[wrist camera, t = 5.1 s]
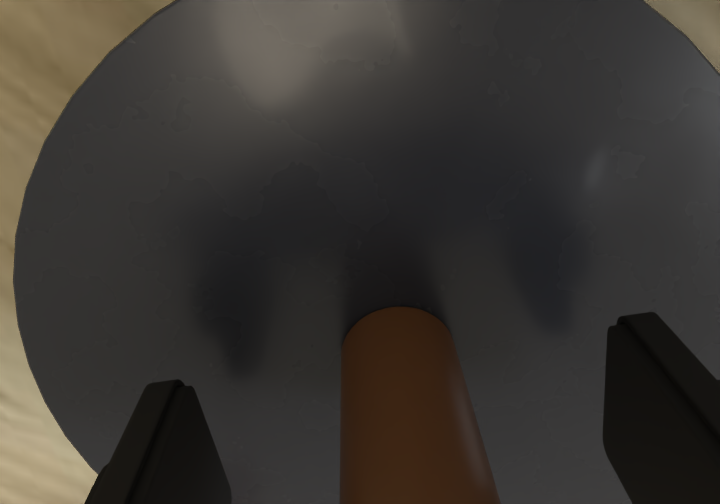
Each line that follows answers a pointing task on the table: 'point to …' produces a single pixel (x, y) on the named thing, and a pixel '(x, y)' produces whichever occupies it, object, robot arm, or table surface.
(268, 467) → the pan lid
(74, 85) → the table surface
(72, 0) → the table surface
